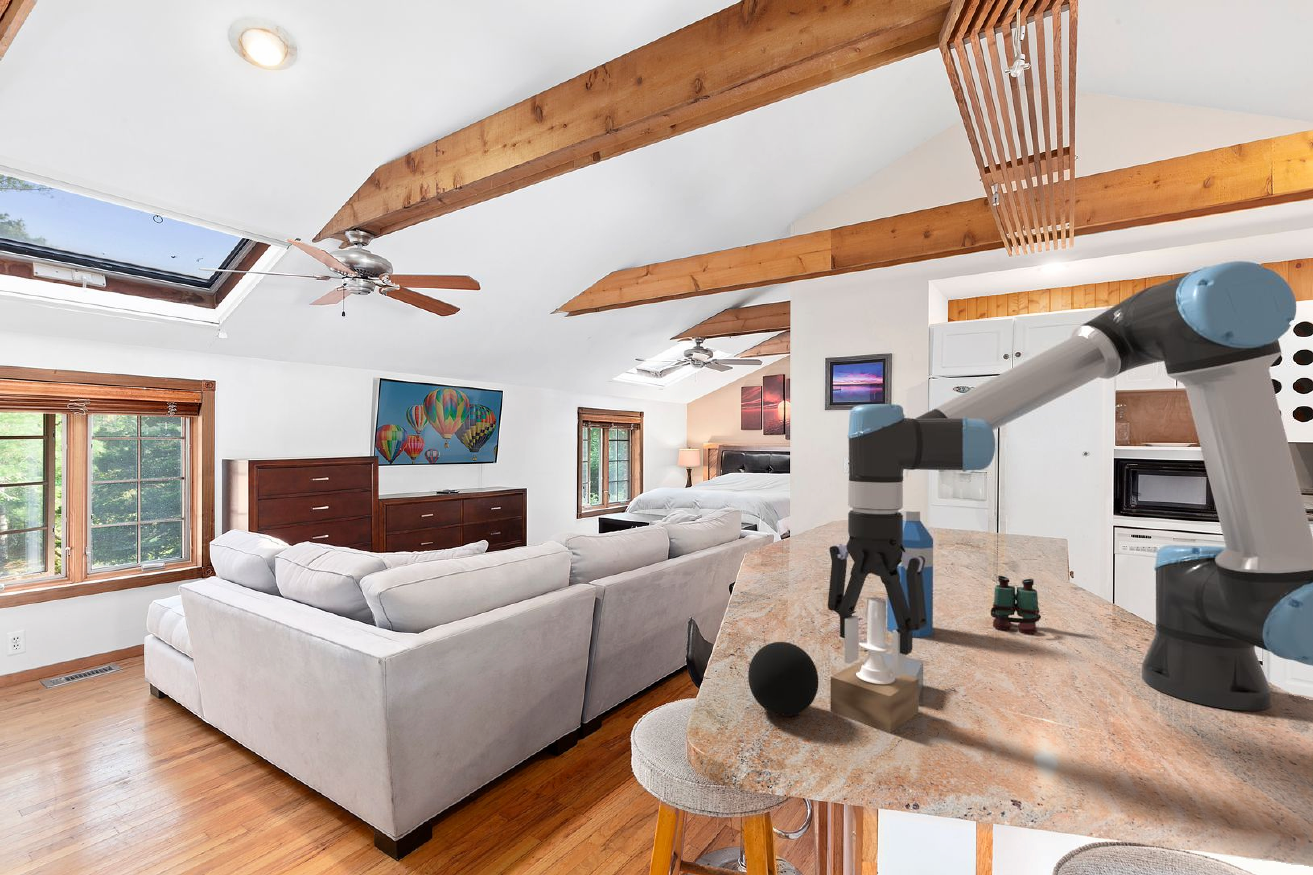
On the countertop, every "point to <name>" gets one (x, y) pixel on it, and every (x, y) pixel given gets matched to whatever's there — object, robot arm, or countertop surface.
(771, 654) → the decorative ball
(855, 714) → the walnut block
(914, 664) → the slate block
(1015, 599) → the binoculars
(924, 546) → the water bottle
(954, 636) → the countertop surface
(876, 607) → the candle
